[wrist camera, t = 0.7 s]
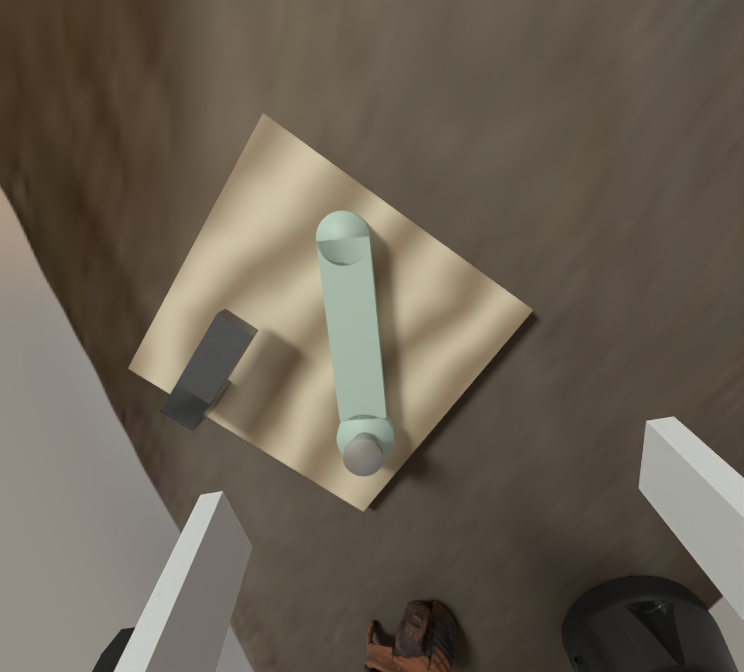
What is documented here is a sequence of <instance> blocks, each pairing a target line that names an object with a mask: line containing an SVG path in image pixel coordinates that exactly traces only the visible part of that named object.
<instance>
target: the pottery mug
mask: <svg viewBox="0 0 744 672" xmlns="http://www.w3.org/2000/svg"><path fill="white" fill-rule="evenodd" d="M374 629H375V623H374V622H373V621H371V623H370V626H369V629H368V633H367V651H368V657H367V659H366V660H365V664H366V665H365V666H364V670H365V671H366V672H449V671H450V670H451V667H452V665H453V658H454V650H455V647H456V638H455V637H456V623H455V621H454V619H453V617H452V616H451V614H450V613H449V612H448V611H447V609H446V608H444V607H443V606H442V605H441V604H440V603H438V602H437V601H433V603H432V611H431V612H430V610H429V609H428V607H427V606H426V605H425V604H424V603H423V602H420V601H414V602H409V603H408V605H407V607H406V609H405V613H404V616H403V620H402V621H401V622H400V624H399V627H398V629H397V631H396V642H395V646H396V650H397V651H398V652H399V653H400V654H401V655H394V649H393V647H388V646H384V645H382V644H379V645H376V644H375V643H373V641H372V637H373V632H374ZM426 644H431V650H430V656H428V655H427V654H426V653H425V652H426Z"/></svg>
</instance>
